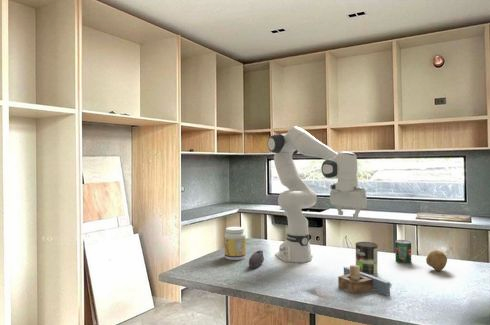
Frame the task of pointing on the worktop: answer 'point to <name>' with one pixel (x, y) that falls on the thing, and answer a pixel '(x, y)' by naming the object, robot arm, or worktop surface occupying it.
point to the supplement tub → (235, 243)
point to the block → (355, 284)
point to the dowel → (355, 272)
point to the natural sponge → (436, 260)
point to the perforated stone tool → (256, 259)
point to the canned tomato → (403, 251)
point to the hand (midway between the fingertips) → (348, 216)
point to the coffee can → (367, 257)
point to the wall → (374, 282)
